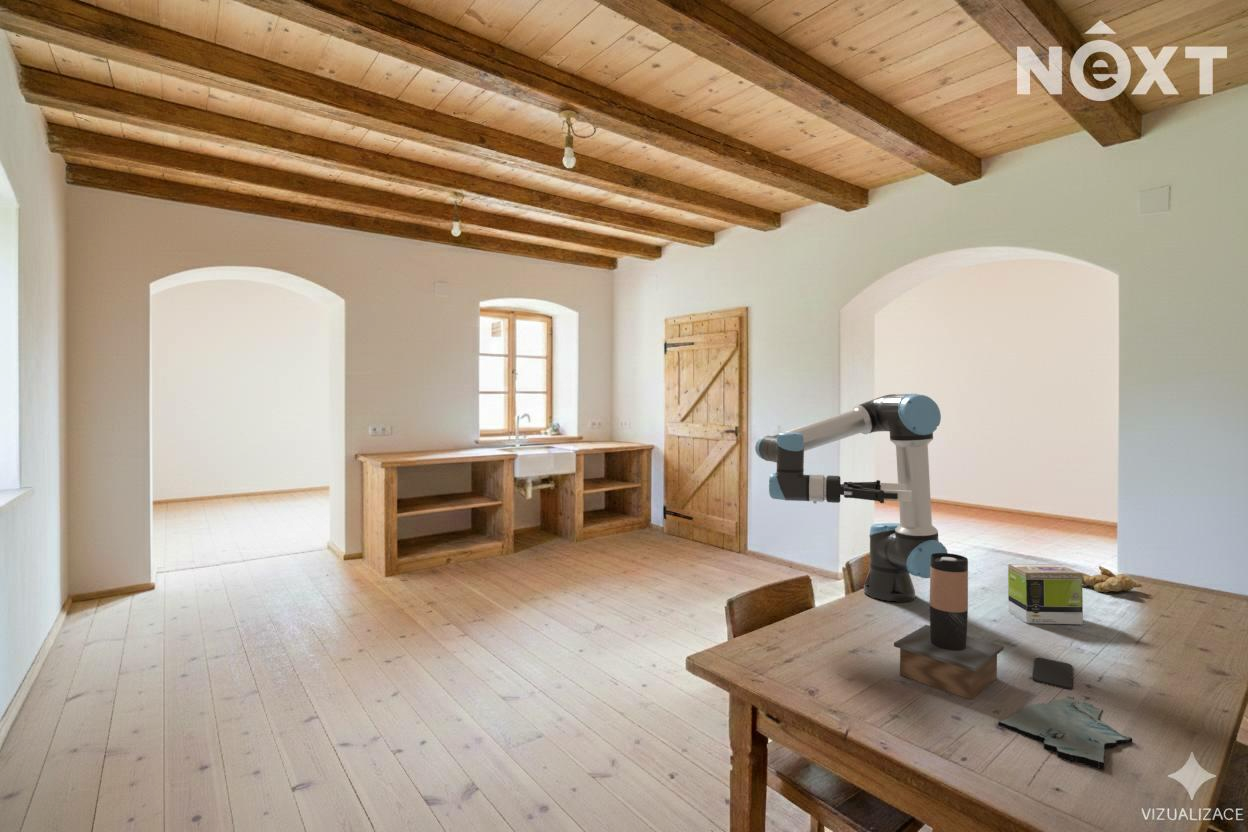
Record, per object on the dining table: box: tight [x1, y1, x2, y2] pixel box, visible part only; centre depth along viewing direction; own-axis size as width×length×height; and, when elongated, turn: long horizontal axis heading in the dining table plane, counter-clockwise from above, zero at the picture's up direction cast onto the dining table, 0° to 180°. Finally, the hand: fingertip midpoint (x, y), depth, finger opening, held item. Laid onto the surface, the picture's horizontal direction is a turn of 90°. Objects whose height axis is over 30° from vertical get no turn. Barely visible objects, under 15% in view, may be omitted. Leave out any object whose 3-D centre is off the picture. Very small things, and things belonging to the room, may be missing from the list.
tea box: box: [1007, 563, 1084, 626], centre depth 173 cm, size 15×10×15 cm
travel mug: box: [929, 553, 969, 651], centre depth 137 cm, size 8×8×20 cm
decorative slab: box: [997, 695, 1133, 771], centre depth 115 cm, size 26×24×2 cm
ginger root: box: [1078, 565, 1143, 594], centre depth 198 cm, size 16×16×8 cm
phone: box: [1031, 657, 1074, 690], centre depth 139 cm, size 7×1×15 cm
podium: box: [893, 624, 1005, 700], centre depth 137 cm, size 17×17×7 cm
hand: (908, 492), depth 163 cm, fingers open, 13 cm apart
